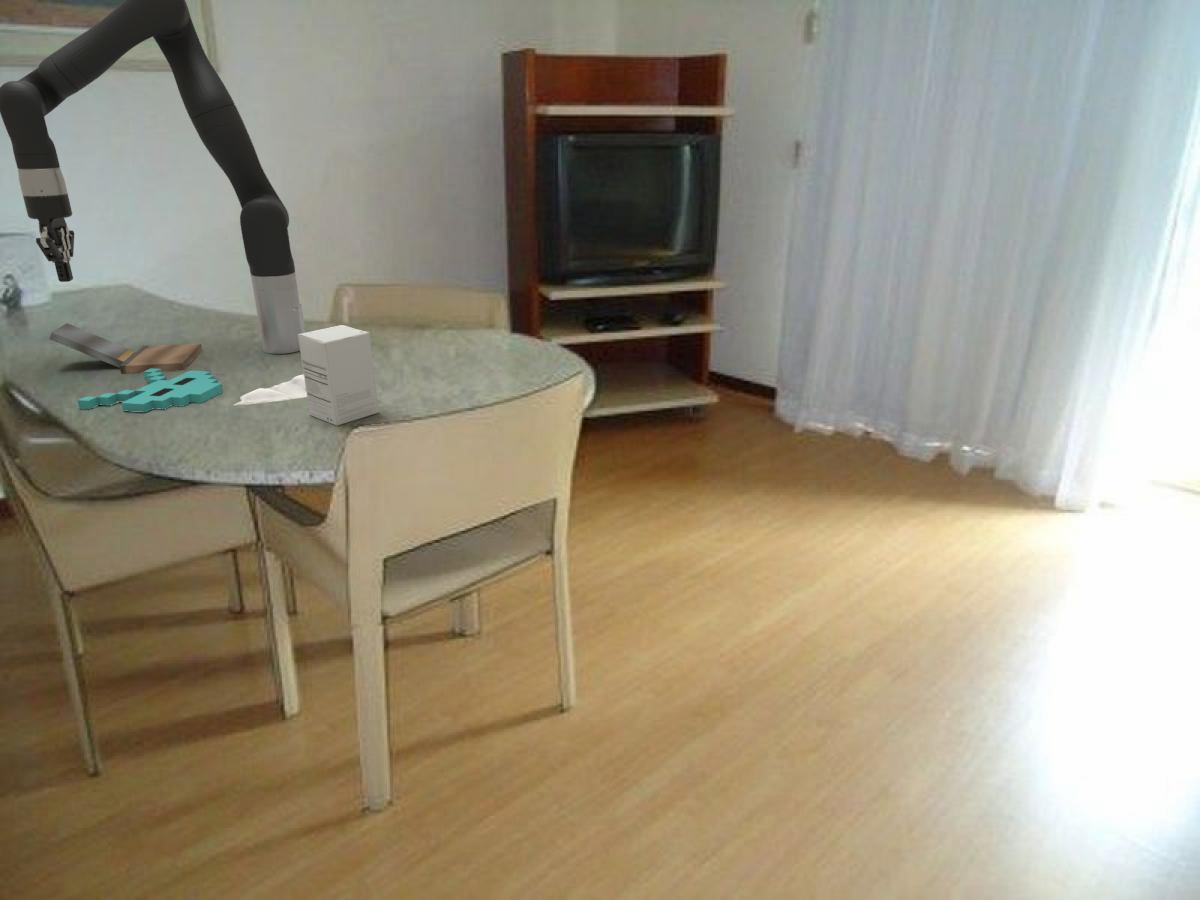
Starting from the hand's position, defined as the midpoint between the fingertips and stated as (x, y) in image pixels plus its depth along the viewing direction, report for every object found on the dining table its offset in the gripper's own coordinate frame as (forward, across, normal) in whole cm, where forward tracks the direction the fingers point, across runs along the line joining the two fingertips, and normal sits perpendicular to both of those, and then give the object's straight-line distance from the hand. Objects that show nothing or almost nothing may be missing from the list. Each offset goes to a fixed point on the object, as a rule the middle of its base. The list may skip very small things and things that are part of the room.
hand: (66, 280), depth 168 cm
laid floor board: (+18, 0, -15) cm, 24 cm away
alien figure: (+19, -24, -22) cm, 37 cm away
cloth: (+19, -25, -45) cm, 55 cm away
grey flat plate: (+14, 0, -2) cm, 15 cm away
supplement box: (+18, -42, -56) cm, 72 cm away
